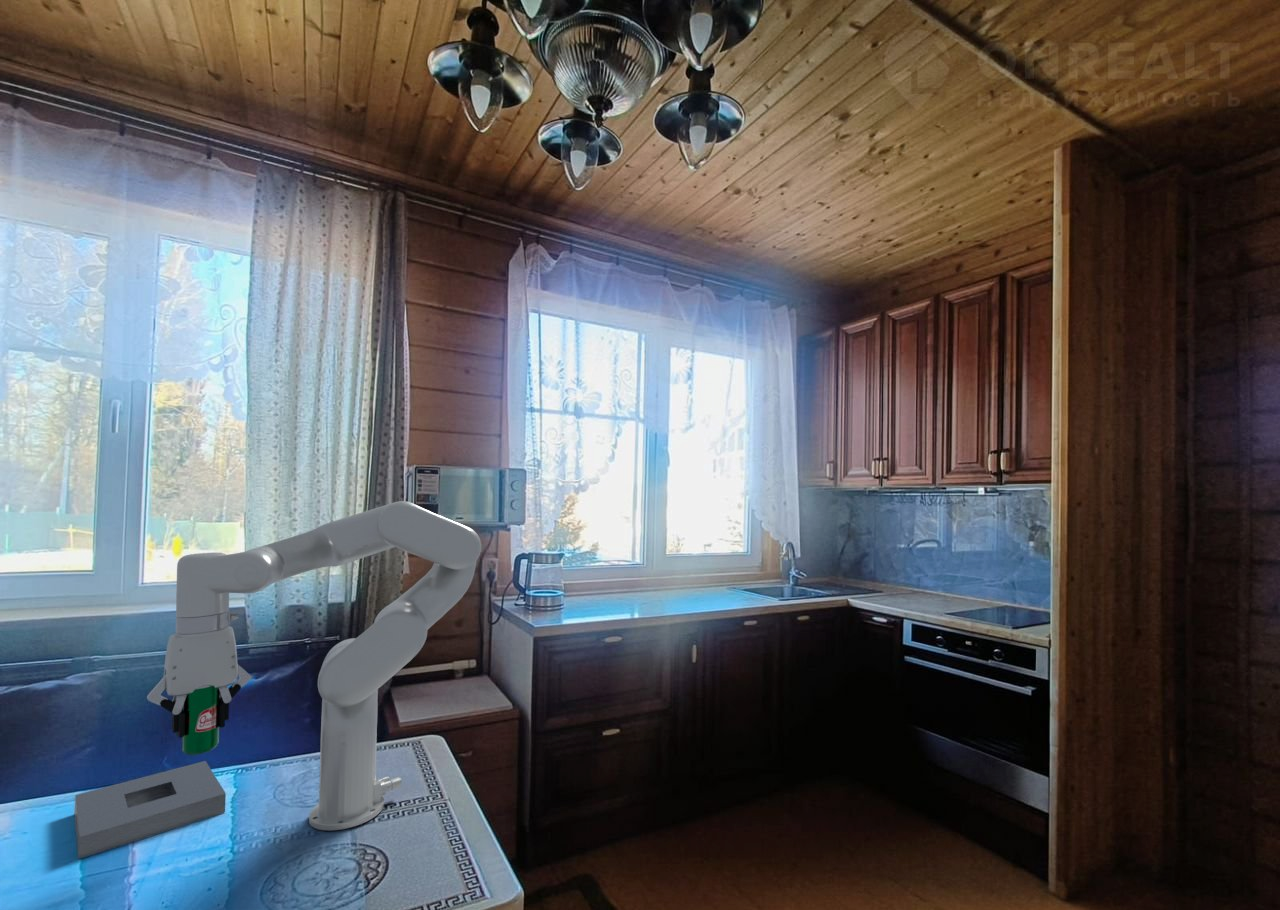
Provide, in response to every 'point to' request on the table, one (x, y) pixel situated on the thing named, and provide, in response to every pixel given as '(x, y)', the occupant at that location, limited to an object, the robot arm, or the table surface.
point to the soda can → (201, 720)
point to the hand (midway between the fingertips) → (200, 729)
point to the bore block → (145, 807)
